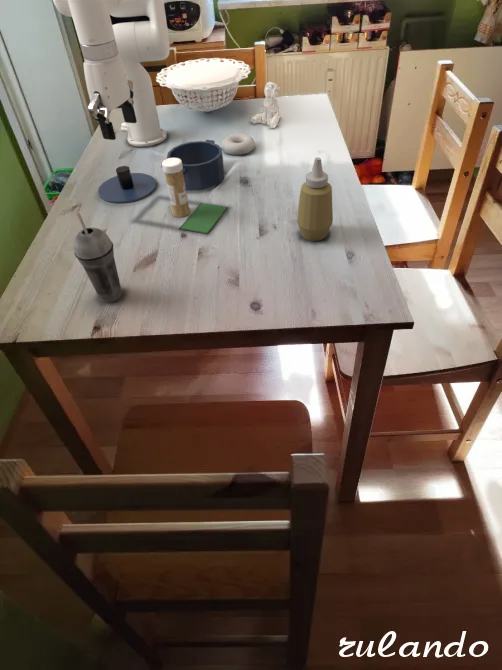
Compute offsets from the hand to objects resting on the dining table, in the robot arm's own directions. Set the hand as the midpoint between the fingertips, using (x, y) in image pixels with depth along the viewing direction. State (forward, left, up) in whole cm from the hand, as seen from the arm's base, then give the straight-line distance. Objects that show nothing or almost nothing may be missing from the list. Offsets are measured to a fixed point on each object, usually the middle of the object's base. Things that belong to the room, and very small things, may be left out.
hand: (120, 130), depth 112 cm
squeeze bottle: (+51, -5, -17) cm, 54 cm away
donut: (+17, +32, -17) cm, 40 cm away
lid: (-3, +1, -16) cm, 17 cm away
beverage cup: (+17, -38, -17) cm, 45 cm away
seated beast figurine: (+19, +54, -17) cm, 60 cm away
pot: (+13, +12, -17) cm, 24 cm away
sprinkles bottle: (+17, -6, -17) cm, 24 cm away
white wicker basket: (-5, +57, -17) cm, 60 cm away
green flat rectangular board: (+17, -6, -17) cm, 24 cm away
